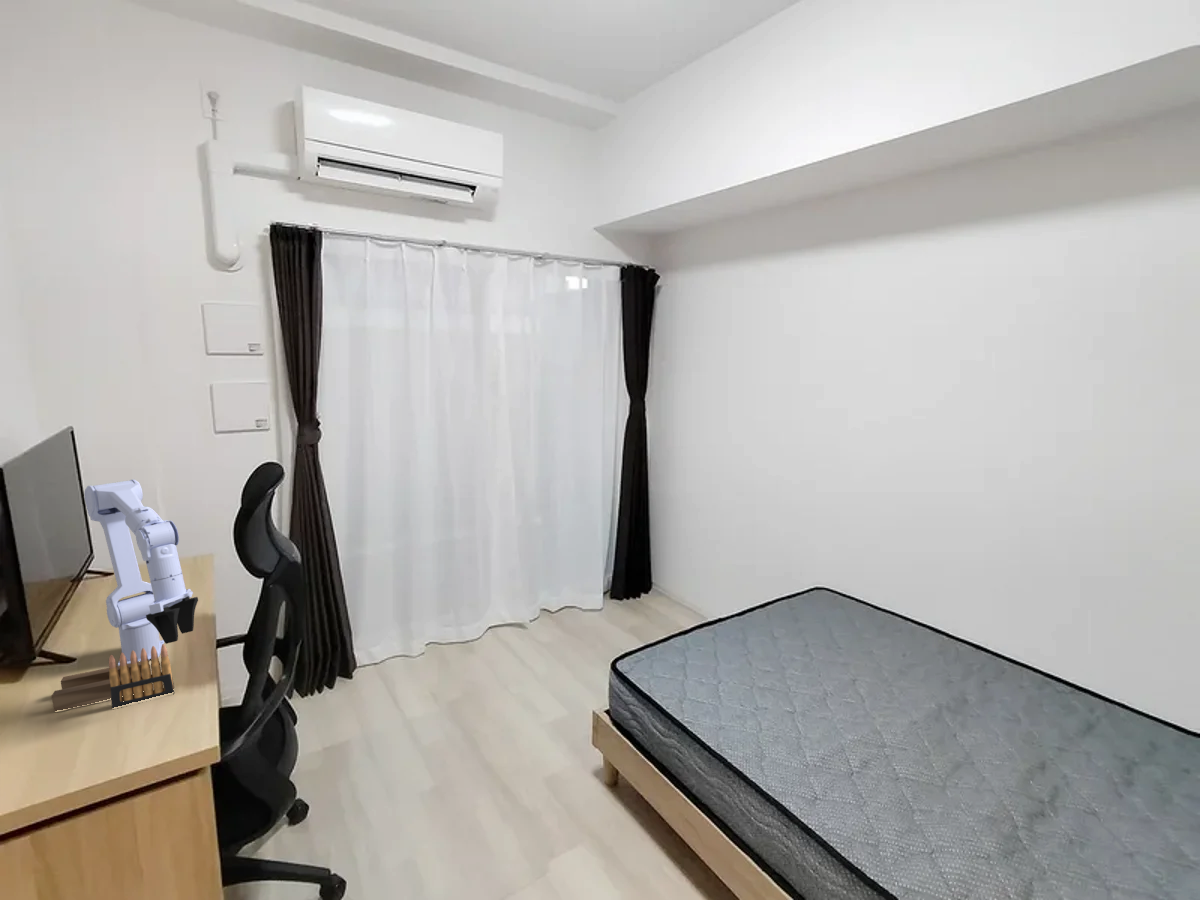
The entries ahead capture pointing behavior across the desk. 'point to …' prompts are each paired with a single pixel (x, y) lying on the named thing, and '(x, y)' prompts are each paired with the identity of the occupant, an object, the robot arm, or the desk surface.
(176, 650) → the desk surface
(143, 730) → the desk surface
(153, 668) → the ammunition clip
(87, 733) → the desk surface
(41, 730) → the desk surface
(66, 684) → the walnut rack
